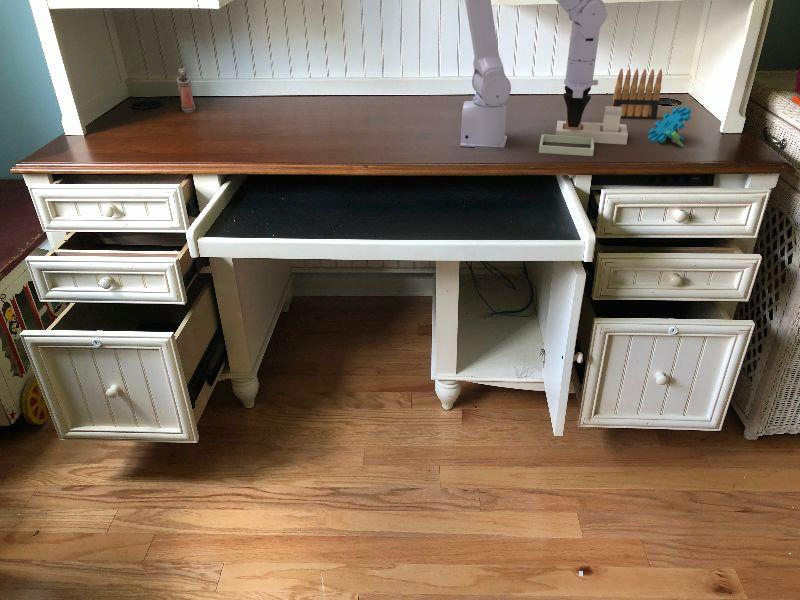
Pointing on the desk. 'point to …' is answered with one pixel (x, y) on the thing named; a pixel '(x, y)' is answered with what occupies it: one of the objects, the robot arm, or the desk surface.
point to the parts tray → (566, 149)
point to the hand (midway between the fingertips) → (573, 123)
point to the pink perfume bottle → (185, 91)
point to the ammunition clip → (638, 95)
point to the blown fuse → (572, 127)
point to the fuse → (612, 118)
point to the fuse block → (595, 132)
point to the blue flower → (670, 126)
